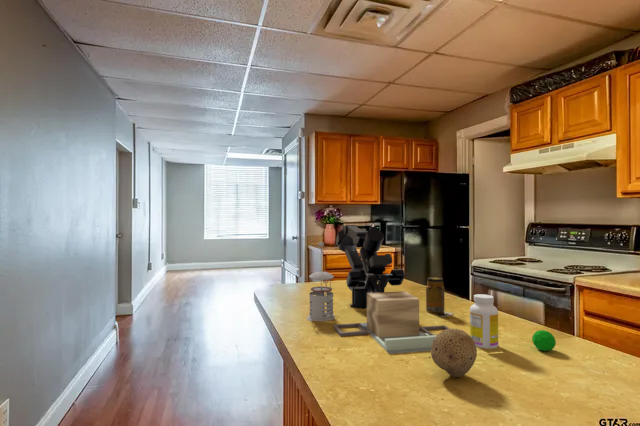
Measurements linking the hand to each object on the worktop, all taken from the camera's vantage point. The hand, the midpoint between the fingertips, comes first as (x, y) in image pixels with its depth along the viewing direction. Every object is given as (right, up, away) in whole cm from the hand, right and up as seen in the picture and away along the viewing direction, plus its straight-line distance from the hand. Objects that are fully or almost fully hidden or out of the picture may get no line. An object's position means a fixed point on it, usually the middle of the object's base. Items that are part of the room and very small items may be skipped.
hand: (382, 300), depth 113 cm
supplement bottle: (+23, -7, -19) cm, 31 cm away
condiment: (+21, -7, +11) cm, 25 cm away
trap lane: (+2, -7, -12) cm, 14 cm away
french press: (-19, -7, +7) cm, 21 cm away
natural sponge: (+9, -7, -37) cm, 39 cm away
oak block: (+2, -7, -8) cm, 10 cm away
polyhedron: (+37, -7, -22) cm, 43 cm away
